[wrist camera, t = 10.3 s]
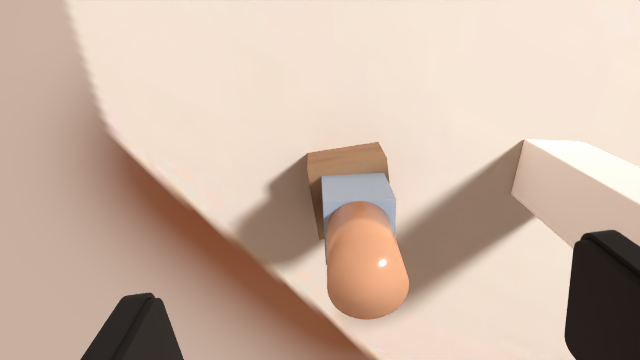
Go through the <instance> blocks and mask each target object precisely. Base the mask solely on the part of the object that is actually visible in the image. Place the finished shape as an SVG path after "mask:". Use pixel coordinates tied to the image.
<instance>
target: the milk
mask: <svg viewBox="0 0 640 360" xmlns="http://www.w3.org/2000/svg"><path fill="white" fill-rule="evenodd" d="M511 194H512V195H513V196H514V197H515V198H516V199H517V200H518V201H519V202H521V203H522V204H523V205H524V206H525V207H526V208H527V209H529V210H530V211H531V212H532V213H533V214H534V215H535V216H536V217H538V218H539V219H540V220H541V221H542V222H543V223H544V224H546V225H547V226H548V227H549V228H550V229H551V230H552V231H554V232H555V233H556V234H557V235H558V236H559V237H560V238H561V239H563V240H564V241H565V242H566V243H567V244H568V245H569V246H571V247H572V248H573V249H574V244H575V243H576V242H577V241H580V239H581V237H582V235H583V234H585V233H590V232H597V231H605V230H616V231H618V232H620V233H621V234H623V235H624V236H625V237H627V238H628V239H630V240H631V241H633V242H634V243H635V244H637V245H638V246H640V167H638V166H635V165H633V164H631V163H629V162H627V161H624V160H622V159H620V158H618V157H616V156H613V155H611V154H609V153H607V152H605V151H602V150H600V149H598V148H596V147H594V146H591V145H589V144H587V143H585V142H582V141H558V140H534V139H525V140H524V142H523V147H522V151H521V155H520V159H519V163H518V167H517V171H516V175H515V179H514V183H513V188H512V192H511Z"/></svg>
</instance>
